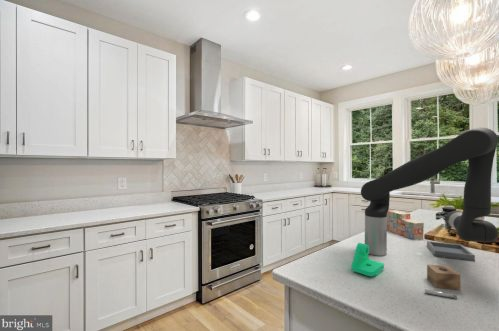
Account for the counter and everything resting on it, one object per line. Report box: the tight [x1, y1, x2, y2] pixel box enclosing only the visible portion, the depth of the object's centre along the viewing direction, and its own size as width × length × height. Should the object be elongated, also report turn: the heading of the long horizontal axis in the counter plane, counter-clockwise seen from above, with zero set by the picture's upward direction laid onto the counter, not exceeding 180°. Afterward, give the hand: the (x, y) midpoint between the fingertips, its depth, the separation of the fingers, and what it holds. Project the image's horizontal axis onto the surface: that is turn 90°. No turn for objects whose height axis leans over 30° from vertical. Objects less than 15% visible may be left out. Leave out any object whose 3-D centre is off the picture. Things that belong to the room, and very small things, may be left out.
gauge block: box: [426, 264, 462, 291], centre depth 87 cm, size 7×7×5 cm
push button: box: [441, 205, 458, 229], centre depth 116 cm, size 7×5×10 cm
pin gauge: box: [424, 289, 458, 299], centre depth 79 cm, size 8×1×1 cm, turn 66°
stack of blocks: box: [387, 209, 425, 241], centre depth 146 cm, size 21×6×12 cm, turn 10°
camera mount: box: [350, 242, 385, 277], centre depth 97 cm, size 12×8×10 cm, turn 131°
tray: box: [426, 240, 476, 262], centre depth 116 cm, size 14×15×2 cm
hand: (447, 213), depth 119 cm, fingers closed on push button, 3 cm apart
